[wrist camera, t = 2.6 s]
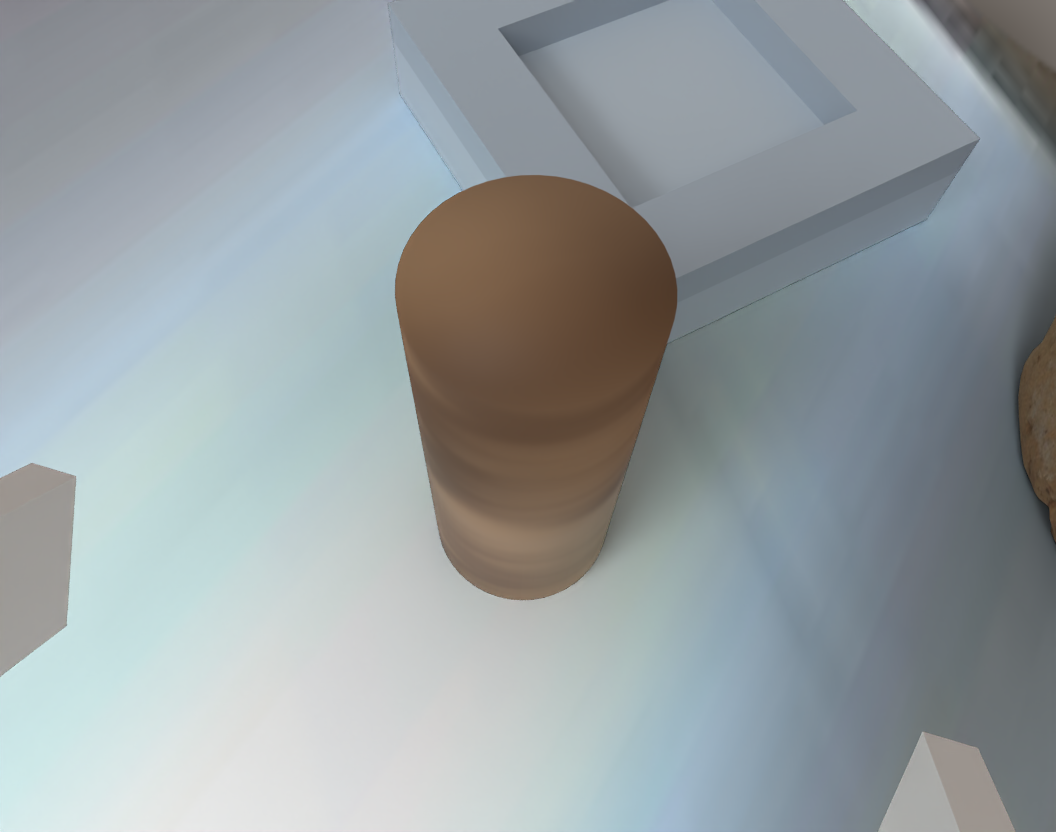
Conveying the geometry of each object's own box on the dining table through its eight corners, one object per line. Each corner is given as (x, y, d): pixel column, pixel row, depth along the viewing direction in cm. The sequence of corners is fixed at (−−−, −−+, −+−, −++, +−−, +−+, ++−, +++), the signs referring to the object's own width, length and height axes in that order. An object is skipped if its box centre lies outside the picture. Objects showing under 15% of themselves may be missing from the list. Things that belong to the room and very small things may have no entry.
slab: (399, 93, 34) (387, 3, 30) (707, -21, 37) (729, -115, 34) (587, 382, 29) (599, 313, 25) (926, 219, 32) (980, 138, 28)
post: (409, 484, 27) (349, 236, 16) (554, 414, 28) (586, 139, 18) (486, 631, 25) (476, 459, 14) (638, 549, 26) (732, 335, 16)
